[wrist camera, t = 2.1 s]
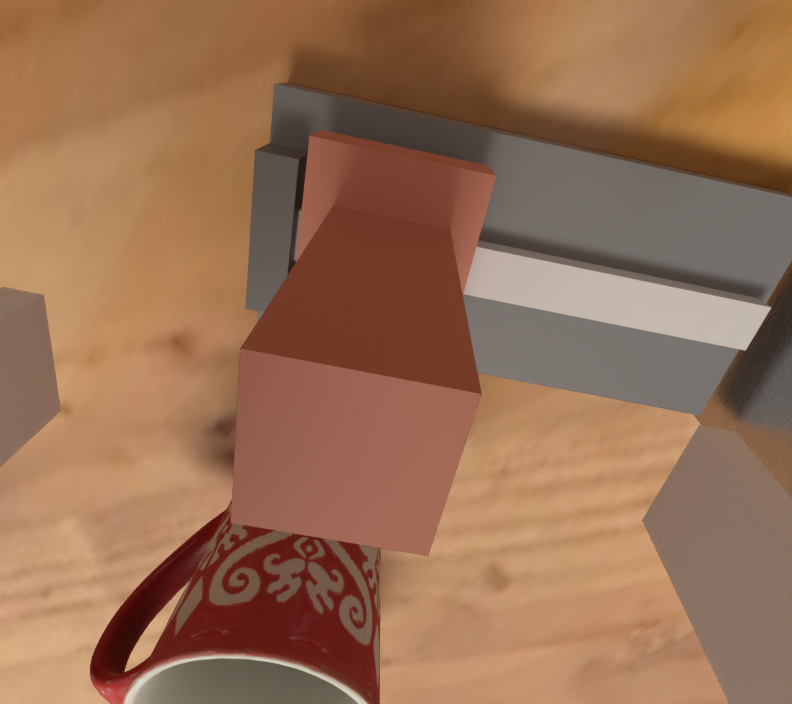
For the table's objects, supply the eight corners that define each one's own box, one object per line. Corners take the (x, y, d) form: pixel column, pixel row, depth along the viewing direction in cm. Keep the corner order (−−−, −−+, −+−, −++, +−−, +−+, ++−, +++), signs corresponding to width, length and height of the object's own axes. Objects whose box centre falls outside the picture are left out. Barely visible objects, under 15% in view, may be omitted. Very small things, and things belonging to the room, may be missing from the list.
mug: (378, 391, 27) (345, 643, 15) (412, 516, 31) (408, 791, 19) (156, 427, 29) (-30, 679, 17) (217, 541, 33) (102, 807, 21)
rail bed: (268, 312, 25) (243, 352, 21) (287, 82, 20) (259, 85, 17) (681, 392, 26) (722, 442, 23) (791, 193, 21) (864, 217, 18)
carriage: (296, 332, 22) (180, 580, 11) (320, 129, 18) (176, 213, 7) (436, 359, 22) (452, 623, 11) (489, 165, 18) (583, 295, 8)
